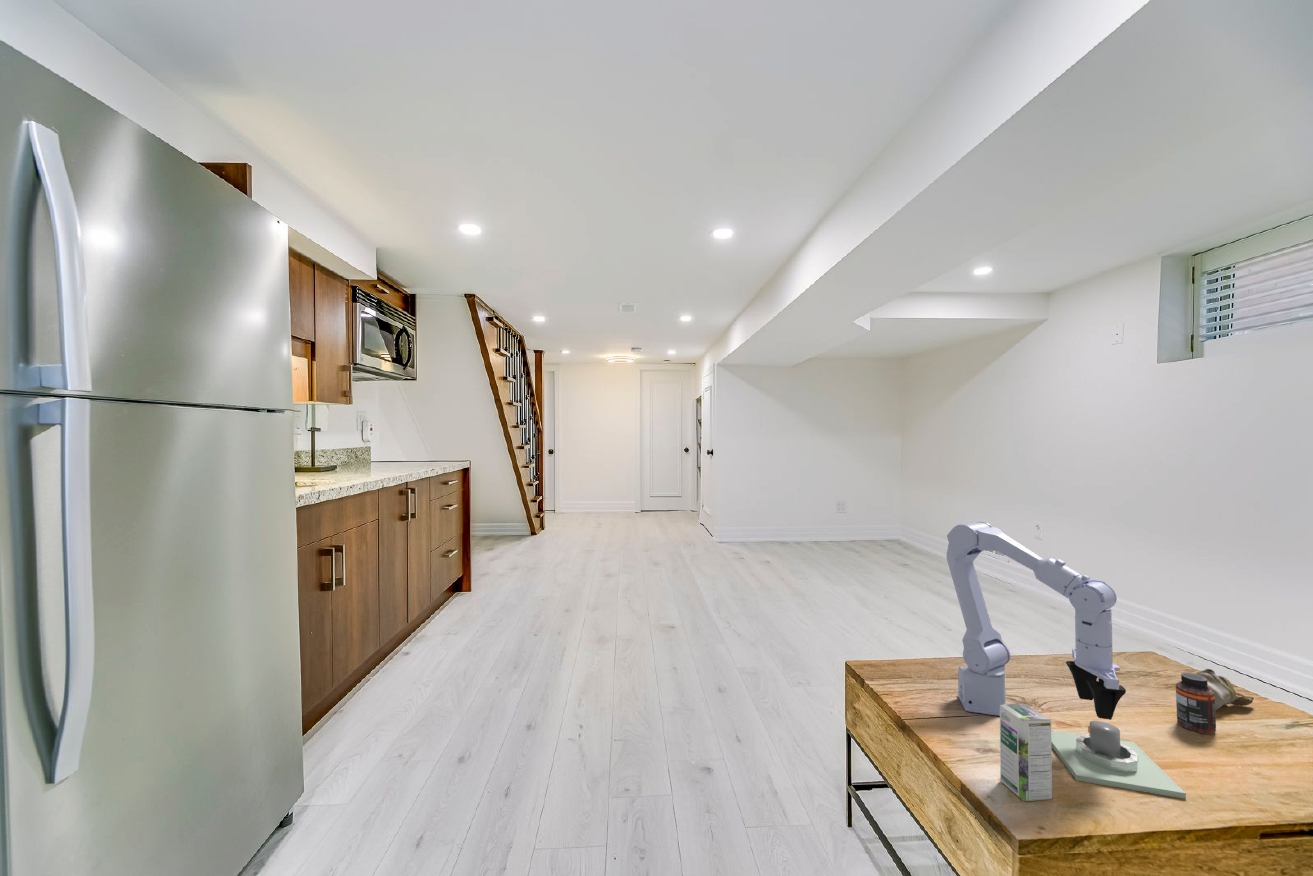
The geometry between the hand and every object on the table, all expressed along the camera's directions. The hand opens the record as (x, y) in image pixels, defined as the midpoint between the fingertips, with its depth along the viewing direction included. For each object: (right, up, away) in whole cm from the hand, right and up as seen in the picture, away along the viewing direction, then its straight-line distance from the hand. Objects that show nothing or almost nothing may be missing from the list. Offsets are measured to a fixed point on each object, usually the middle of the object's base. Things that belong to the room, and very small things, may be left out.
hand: (1094, 708), depth 102 cm
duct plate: (0, -9, -3) cm, 10 cm away
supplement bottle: (+30, -9, +9) cm, 33 cm away
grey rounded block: (0, -8, -3) cm, 9 cm away
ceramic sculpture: (+45, -9, +19) cm, 49 cm away
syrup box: (-22, -10, -10) cm, 26 cm away
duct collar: (0, -9, -3) cm, 10 cm away
